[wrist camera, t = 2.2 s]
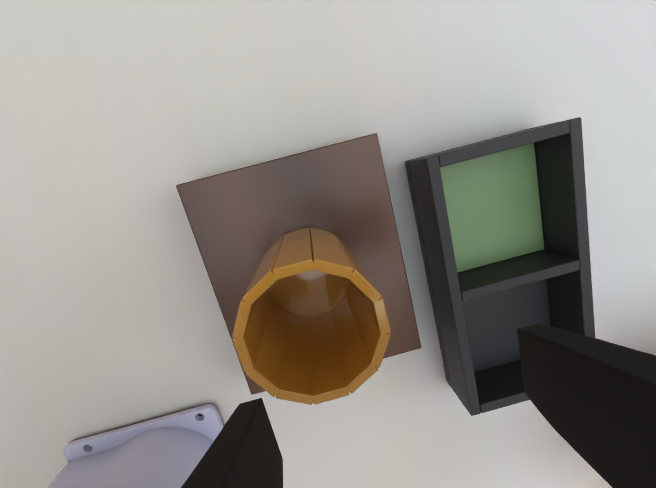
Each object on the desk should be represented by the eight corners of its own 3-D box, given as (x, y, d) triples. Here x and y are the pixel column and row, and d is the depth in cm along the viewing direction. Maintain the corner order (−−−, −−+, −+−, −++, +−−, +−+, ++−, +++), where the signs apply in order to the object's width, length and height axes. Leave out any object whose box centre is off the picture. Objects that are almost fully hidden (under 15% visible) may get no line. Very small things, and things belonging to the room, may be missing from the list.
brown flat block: (256, 373, 19) (251, 395, 17) (190, 184, 17) (175, 185, 15) (410, 331, 19) (421, 348, 17) (368, 138, 17) (377, 132, 15)
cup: (277, 327, 17) (261, 420, 10) (249, 241, 15) (212, 285, 9) (365, 304, 17) (402, 380, 10) (343, 216, 16) (370, 243, 9)
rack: (446, 381, 20) (471, 416, 17) (404, 161, 17) (426, 157, 14) (555, 351, 21) (598, 380, 18) (533, 127, 17) (582, 116, 14)
